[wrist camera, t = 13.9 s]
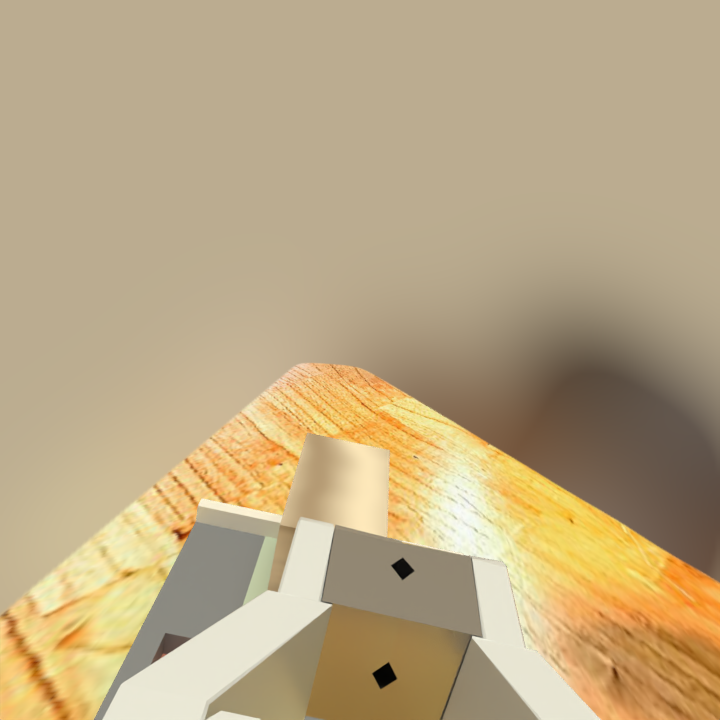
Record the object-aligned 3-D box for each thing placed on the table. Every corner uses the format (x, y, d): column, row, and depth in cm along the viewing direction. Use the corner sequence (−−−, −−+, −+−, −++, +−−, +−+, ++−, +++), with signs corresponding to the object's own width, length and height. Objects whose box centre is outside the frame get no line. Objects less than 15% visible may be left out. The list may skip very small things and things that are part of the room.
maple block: (361, 562, 48) (389, 450, 45) (351, 680, 38) (386, 547, 34) (284, 546, 48) (307, 432, 45) (253, 660, 38) (280, 524, 34)
